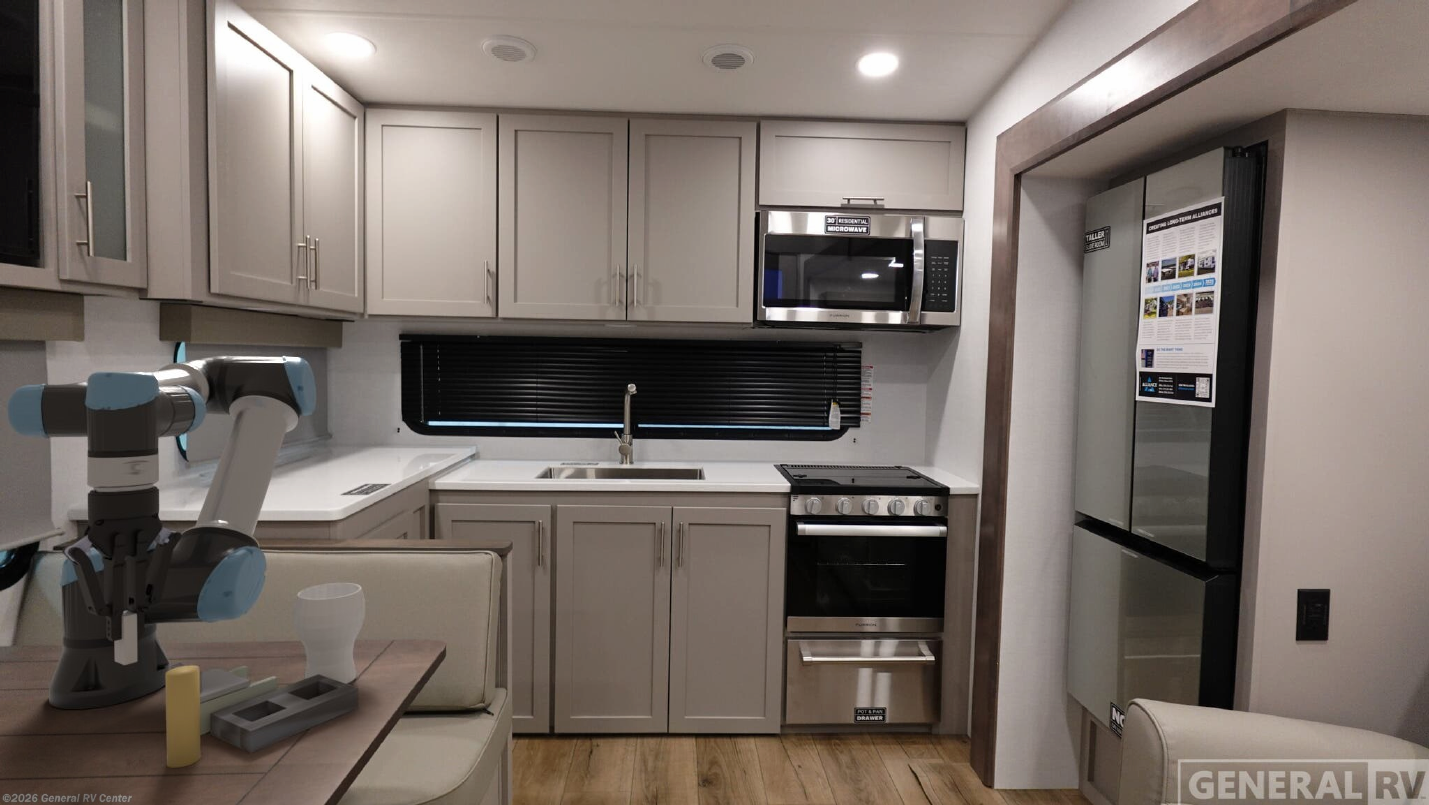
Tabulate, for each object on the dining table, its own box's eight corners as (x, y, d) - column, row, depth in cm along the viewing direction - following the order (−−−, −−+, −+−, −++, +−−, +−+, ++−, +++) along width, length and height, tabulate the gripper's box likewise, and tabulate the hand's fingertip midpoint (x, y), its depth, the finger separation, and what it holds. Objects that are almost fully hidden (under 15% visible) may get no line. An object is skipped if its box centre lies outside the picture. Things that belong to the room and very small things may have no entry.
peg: (161, 763, 97) (160, 672, 97) (191, 751, 101) (190, 663, 100) (175, 770, 96) (174, 678, 95) (206, 758, 99) (204, 669, 98)
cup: (336, 696, 118) (335, 602, 117) (278, 690, 120) (277, 597, 119) (379, 670, 128) (378, 584, 128) (325, 665, 130) (324, 579, 130)
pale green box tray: (166, 720, 109) (165, 690, 109) (244, 692, 119) (243, 665, 119) (198, 735, 105) (198, 705, 105) (277, 705, 114) (276, 677, 114)
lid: (165, 689, 109) (165, 663, 109) (216, 672, 115) (216, 648, 115) (198, 703, 105) (198, 676, 104) (250, 685, 111) (249, 660, 111)
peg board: (210, 734, 105) (210, 713, 105) (318, 692, 119) (318, 674, 119) (250, 753, 100) (250, 731, 100) (358, 707, 114) (358, 688, 114)
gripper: (76, 495, 92) (79, 684, 93) (192, 483, 104) (193, 651, 104) (50, 490, 96) (52, 672, 97) (164, 479, 107) (166, 641, 108)
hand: (126, 661), depth 100 cm, fingers closed
